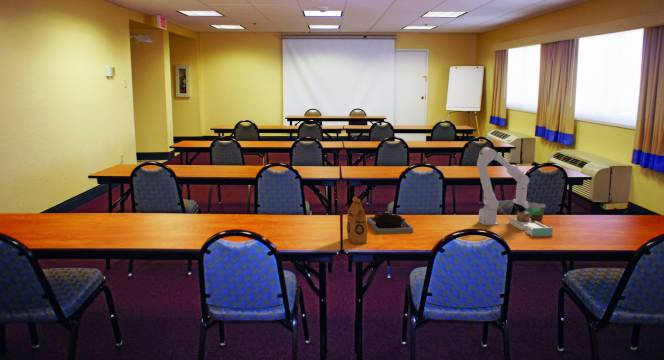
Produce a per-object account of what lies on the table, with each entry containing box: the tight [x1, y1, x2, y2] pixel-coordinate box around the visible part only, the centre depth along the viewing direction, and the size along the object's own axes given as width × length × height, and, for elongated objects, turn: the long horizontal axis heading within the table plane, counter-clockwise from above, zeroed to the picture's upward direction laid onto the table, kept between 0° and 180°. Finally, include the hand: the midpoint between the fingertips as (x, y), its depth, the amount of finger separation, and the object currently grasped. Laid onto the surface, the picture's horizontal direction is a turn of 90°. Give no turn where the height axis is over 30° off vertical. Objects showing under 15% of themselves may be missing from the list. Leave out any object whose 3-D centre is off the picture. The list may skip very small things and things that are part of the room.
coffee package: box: [346, 196, 368, 245], centre depth 260 cm, size 10×12×22 cm
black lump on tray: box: [373, 210, 406, 229], centre depth 286 cm, size 18×12×10 cm
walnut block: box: [516, 210, 530, 222], centre depth 292 cm, size 5×5×5 cm
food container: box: [525, 200, 547, 221], centre depth 306 cm, size 12×6×10 cm, turn 42°
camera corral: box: [366, 216, 414, 235], centre depth 289 cm, size 20×26×2 cm
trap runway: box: [508, 216, 554, 237], centre depth 285 cm, size 11×27×4 cm, turn 8°
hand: (519, 217), depth 297 cm, fingers closed
